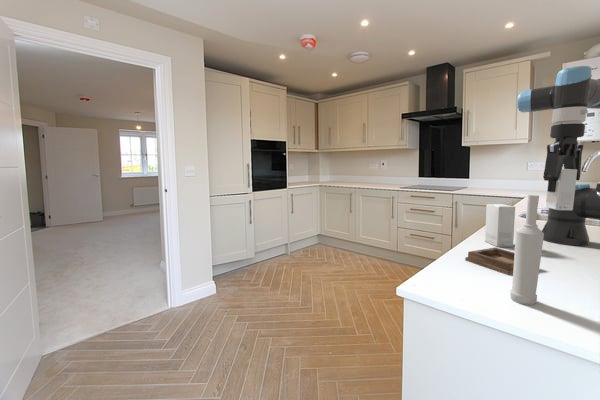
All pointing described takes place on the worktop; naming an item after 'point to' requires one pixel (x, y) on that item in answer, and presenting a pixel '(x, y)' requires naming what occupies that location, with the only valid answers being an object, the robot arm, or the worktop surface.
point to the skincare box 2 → (565, 190)
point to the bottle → (527, 256)
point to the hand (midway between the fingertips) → (559, 202)
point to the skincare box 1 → (500, 225)
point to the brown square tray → (493, 259)
